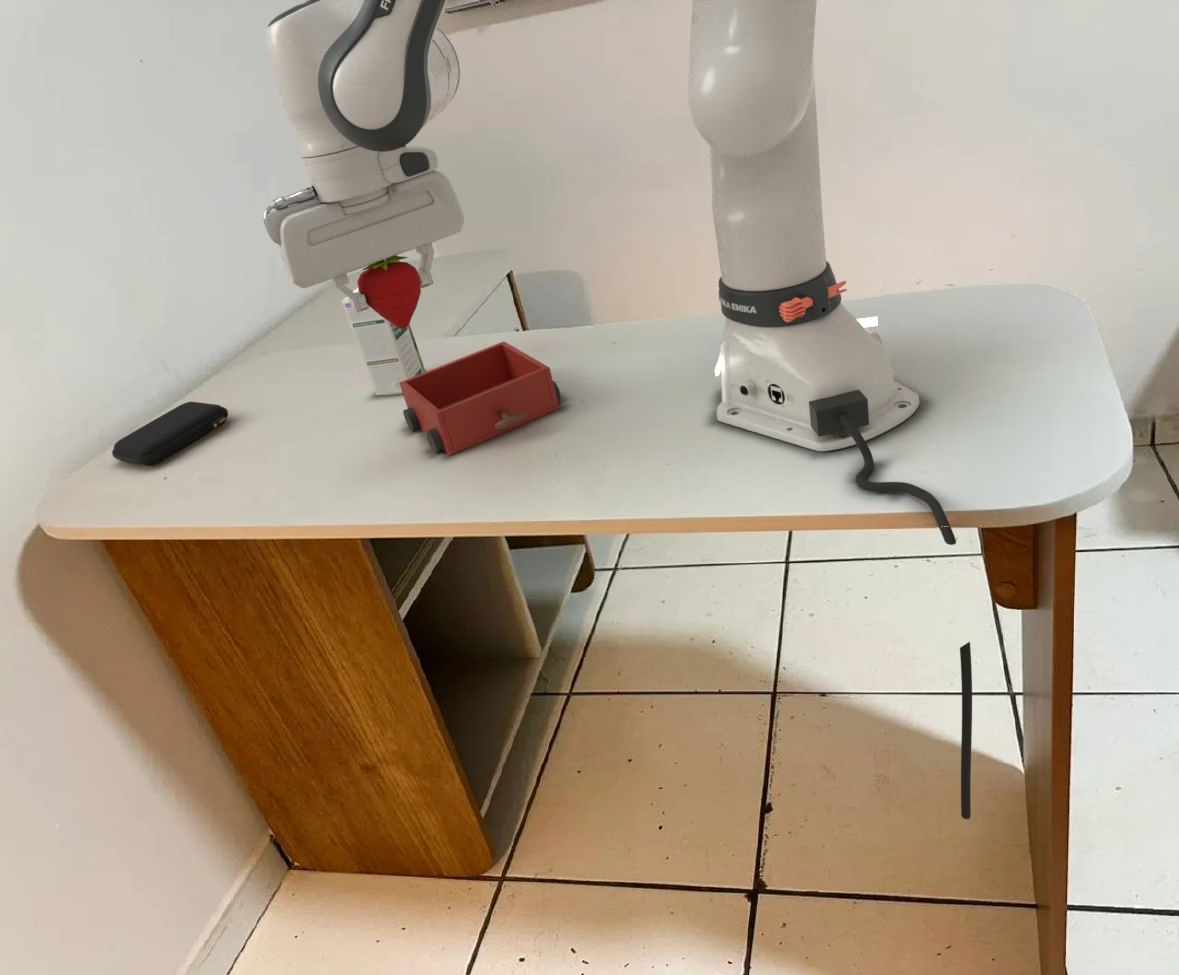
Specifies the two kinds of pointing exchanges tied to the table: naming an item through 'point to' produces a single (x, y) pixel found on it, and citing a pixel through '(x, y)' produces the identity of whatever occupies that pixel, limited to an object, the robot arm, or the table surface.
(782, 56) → the robot arm
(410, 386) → the toy wagon
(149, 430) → the carrying case
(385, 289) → the strawberry
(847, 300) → the table surface
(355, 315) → the syrup box
